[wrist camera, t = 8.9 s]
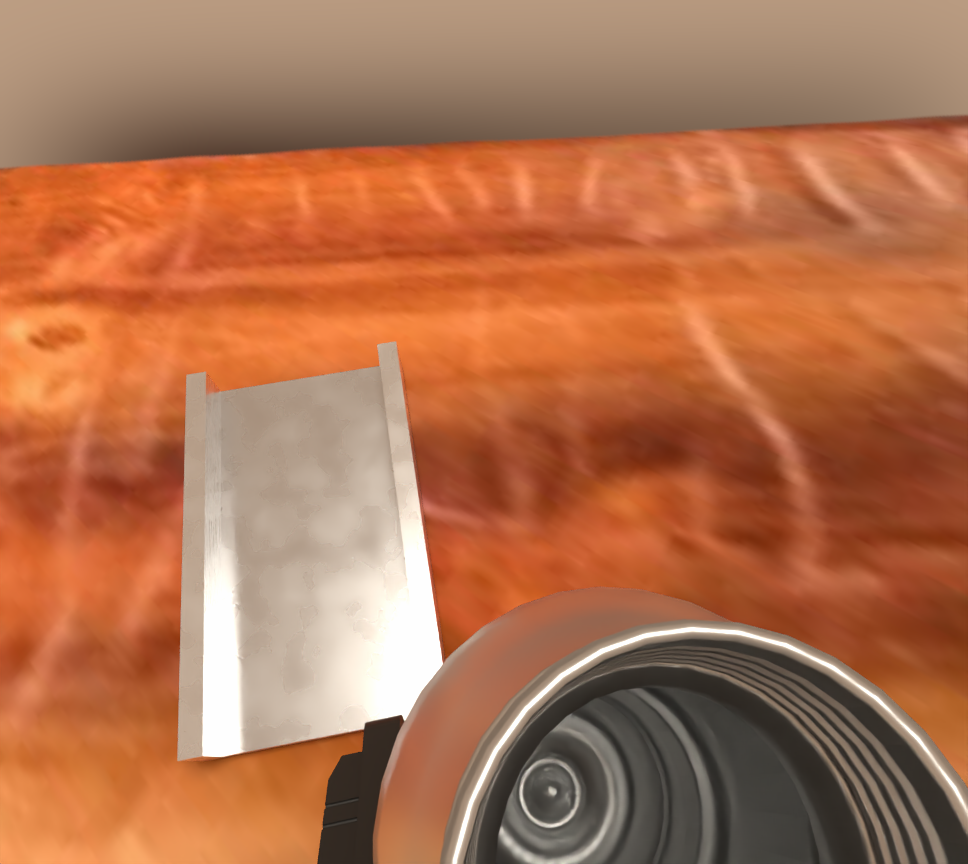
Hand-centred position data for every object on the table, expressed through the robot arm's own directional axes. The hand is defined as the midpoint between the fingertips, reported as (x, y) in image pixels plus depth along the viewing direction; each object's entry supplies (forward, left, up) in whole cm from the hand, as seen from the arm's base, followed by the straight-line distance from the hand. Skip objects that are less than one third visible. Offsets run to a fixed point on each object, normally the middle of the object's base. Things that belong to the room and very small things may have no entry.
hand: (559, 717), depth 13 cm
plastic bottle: (-2, 0, -11) cm, 11 cm away
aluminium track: (+13, +10, -24) cm, 29 cm away
